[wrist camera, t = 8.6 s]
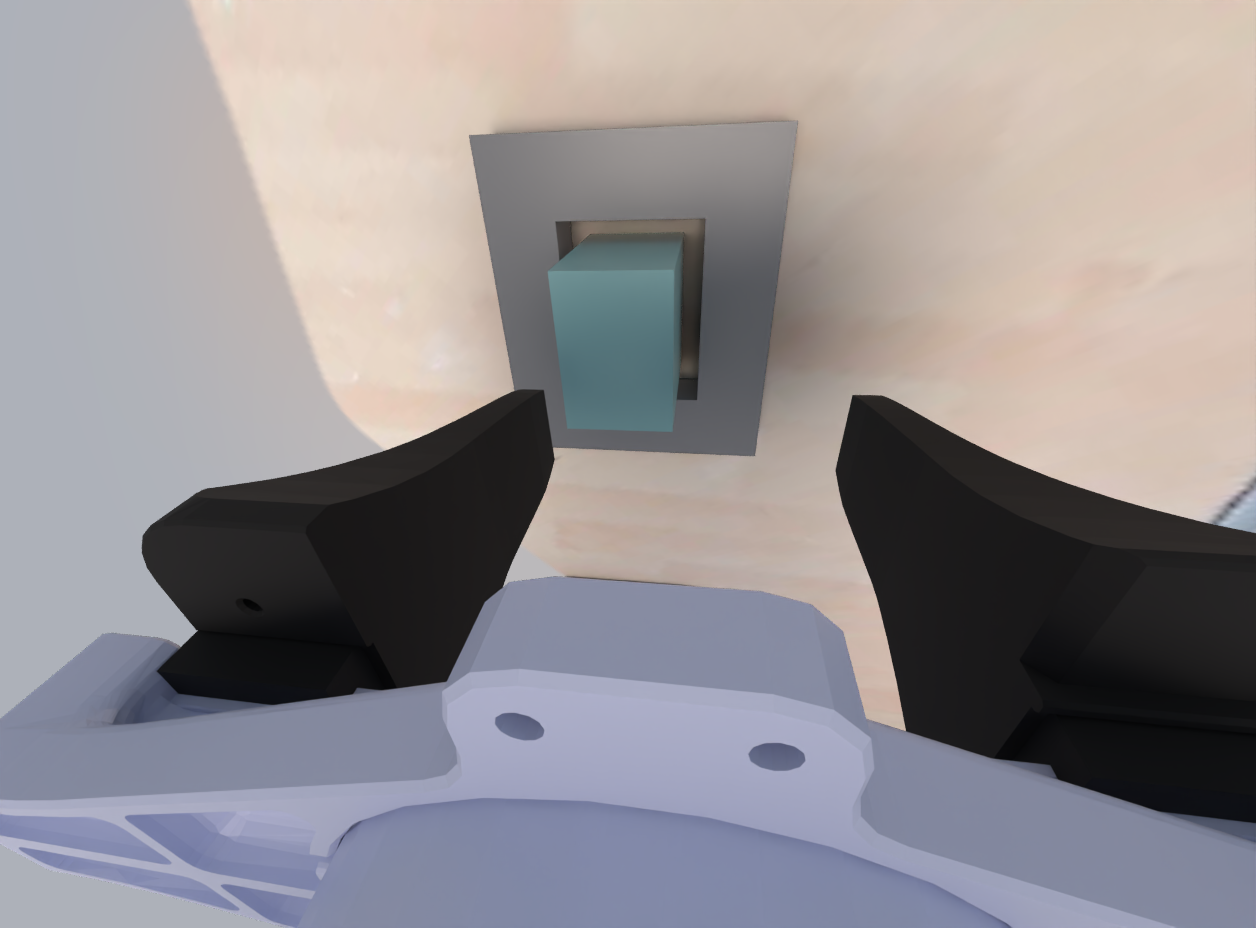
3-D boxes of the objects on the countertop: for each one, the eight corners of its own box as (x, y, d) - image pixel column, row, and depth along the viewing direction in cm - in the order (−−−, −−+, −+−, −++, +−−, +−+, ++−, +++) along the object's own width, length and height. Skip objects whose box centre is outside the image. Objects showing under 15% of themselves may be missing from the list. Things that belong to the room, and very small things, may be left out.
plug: (681, 361, 21) (672, 432, 16) (600, 360, 21) (567, 428, 16) (684, 232, 18) (673, 269, 13) (590, 234, 19) (547, 271, 14)
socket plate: (751, 432, 22) (754, 456, 21) (537, 424, 24) (524, 446, 22) (789, 121, 16) (798, 120, 14) (492, 134, 17) (469, 135, 15)
